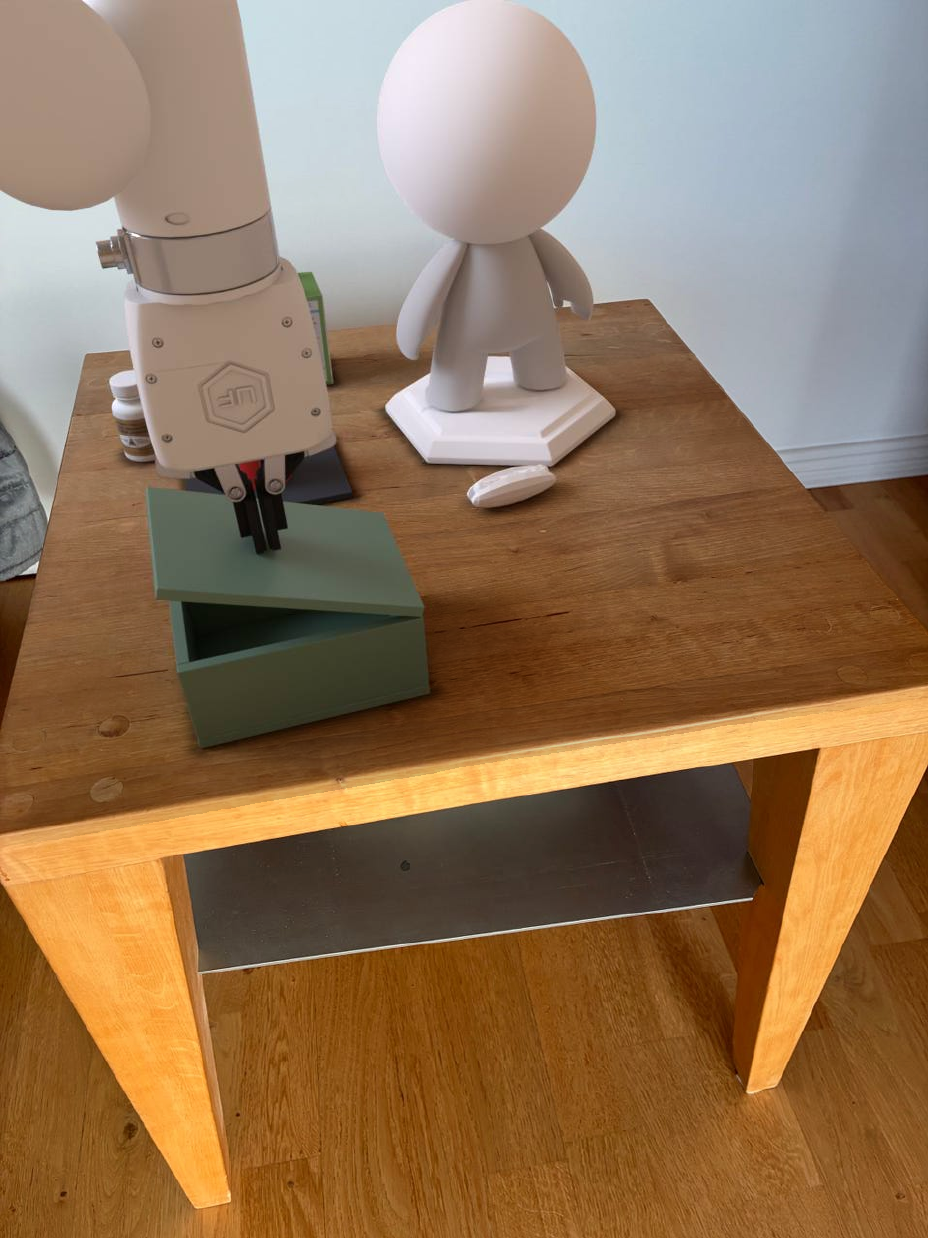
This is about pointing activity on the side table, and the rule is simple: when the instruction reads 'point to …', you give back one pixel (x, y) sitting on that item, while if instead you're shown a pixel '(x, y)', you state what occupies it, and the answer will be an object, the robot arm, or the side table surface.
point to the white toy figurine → (491, 232)
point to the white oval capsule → (510, 486)
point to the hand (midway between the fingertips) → (265, 539)
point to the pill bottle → (131, 418)
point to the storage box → (290, 665)
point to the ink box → (318, 320)
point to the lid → (277, 557)
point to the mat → (304, 481)
